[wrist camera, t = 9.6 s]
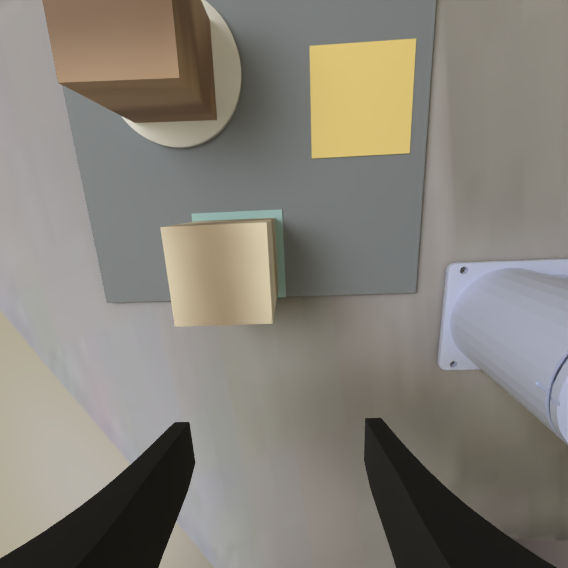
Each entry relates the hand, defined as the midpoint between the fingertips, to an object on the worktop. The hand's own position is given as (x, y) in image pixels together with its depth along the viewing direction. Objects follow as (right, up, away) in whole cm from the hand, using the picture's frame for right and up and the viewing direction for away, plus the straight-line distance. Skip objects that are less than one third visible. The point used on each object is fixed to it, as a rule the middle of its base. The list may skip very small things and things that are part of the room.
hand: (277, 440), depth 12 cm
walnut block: (-6, +18, +5) cm, 20 cm away
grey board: (-2, +14, +7) cm, 16 cm away
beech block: (-3, +8, +8) cm, 12 cm away
